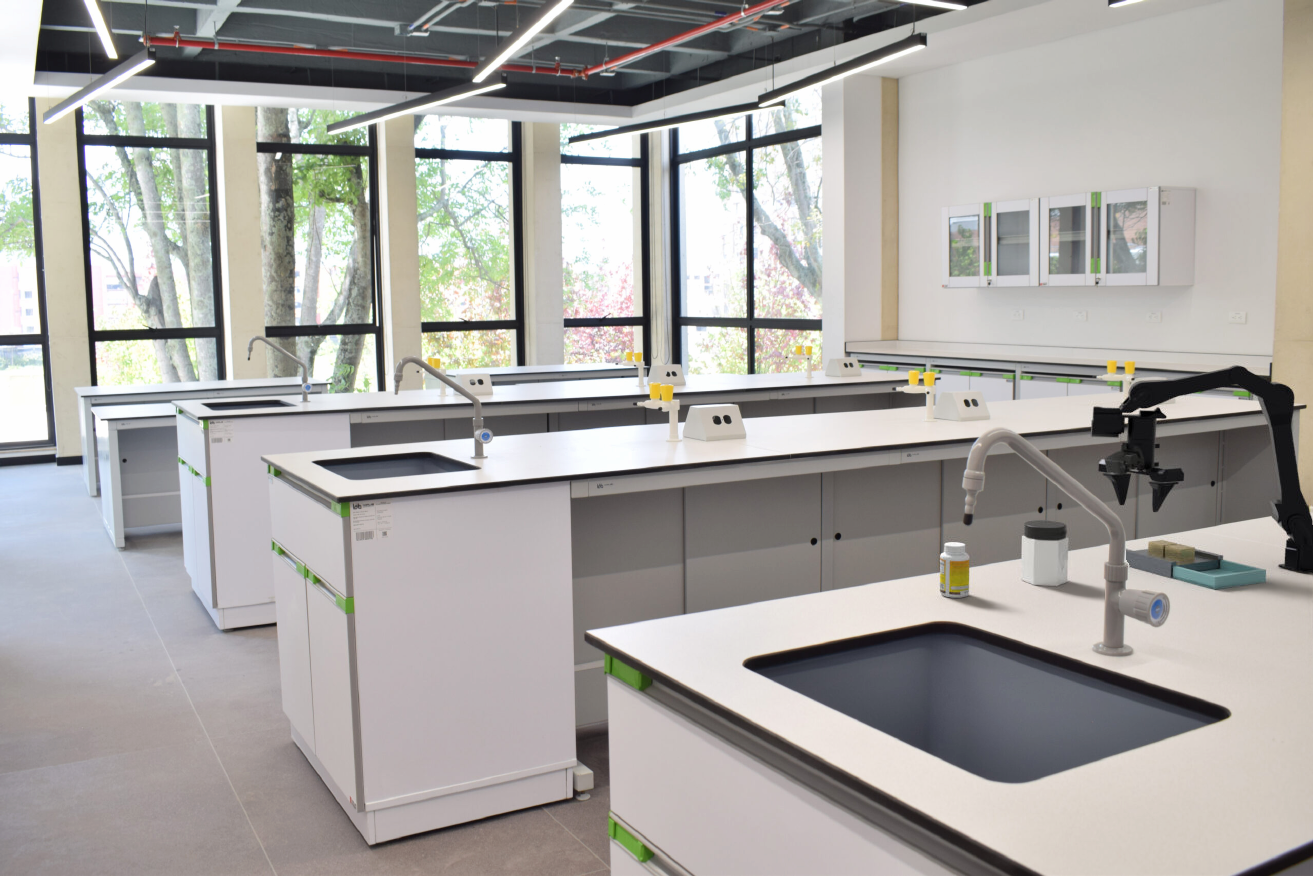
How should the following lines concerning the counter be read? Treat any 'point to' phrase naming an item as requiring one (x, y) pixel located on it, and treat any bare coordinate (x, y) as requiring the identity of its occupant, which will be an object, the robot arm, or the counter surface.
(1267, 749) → the counter surface
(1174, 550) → the chip
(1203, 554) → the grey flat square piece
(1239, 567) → the tray
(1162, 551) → the tan square block
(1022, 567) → the jar
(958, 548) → the supplement bottle
